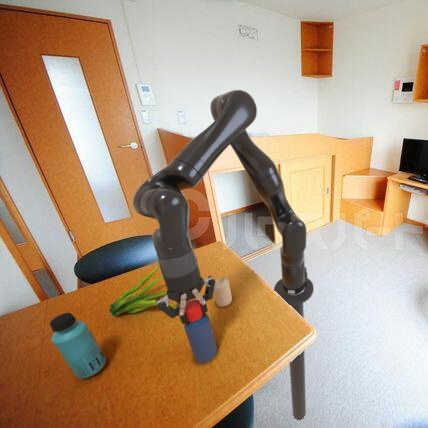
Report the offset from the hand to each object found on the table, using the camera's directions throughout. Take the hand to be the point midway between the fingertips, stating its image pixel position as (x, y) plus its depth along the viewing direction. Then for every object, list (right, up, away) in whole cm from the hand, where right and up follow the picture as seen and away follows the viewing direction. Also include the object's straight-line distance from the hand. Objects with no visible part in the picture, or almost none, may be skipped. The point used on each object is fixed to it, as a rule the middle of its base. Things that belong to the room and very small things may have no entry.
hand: (195, 317), depth 64 cm
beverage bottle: (-29, -15, +1) cm, 33 cm away
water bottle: (0, -13, +6) cm, 15 cm away
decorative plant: (-24, -4, +26) cm, 35 cm away
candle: (-2, -5, +25) cm, 25 cm away
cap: (0, +1, 0) cm, 1 cm away
